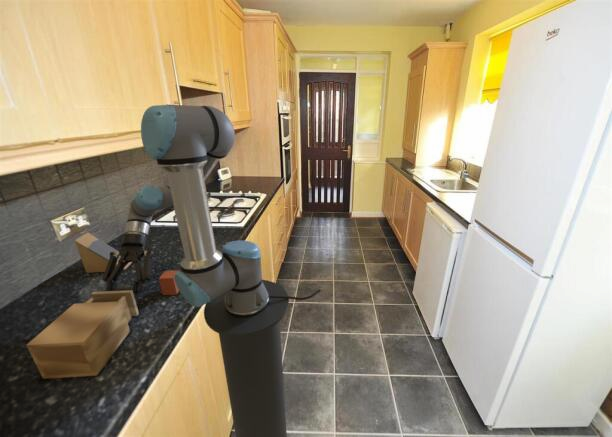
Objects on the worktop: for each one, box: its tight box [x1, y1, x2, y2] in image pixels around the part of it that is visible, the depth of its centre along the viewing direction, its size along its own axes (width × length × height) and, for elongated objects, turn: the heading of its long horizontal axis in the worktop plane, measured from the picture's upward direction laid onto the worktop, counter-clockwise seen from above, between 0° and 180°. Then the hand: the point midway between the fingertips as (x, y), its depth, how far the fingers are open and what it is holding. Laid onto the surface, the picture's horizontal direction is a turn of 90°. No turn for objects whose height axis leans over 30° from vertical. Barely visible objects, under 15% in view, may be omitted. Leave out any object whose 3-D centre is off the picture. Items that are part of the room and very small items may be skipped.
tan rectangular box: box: [26, 301, 131, 380], centre depth 71 cm, size 15×13×11 cm
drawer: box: [85, 285, 140, 323], centre depth 80 cm, size 19×12×9 cm, turn 3°
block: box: [158, 270, 180, 296], centre depth 97 cm, size 5×5×7 cm
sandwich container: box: [74, 231, 133, 274], centre depth 113 cm, size 9×15×15 cm, turn 98°
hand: (121, 302), depth 86 cm, fingers closed on drawer, 7 cm apart
